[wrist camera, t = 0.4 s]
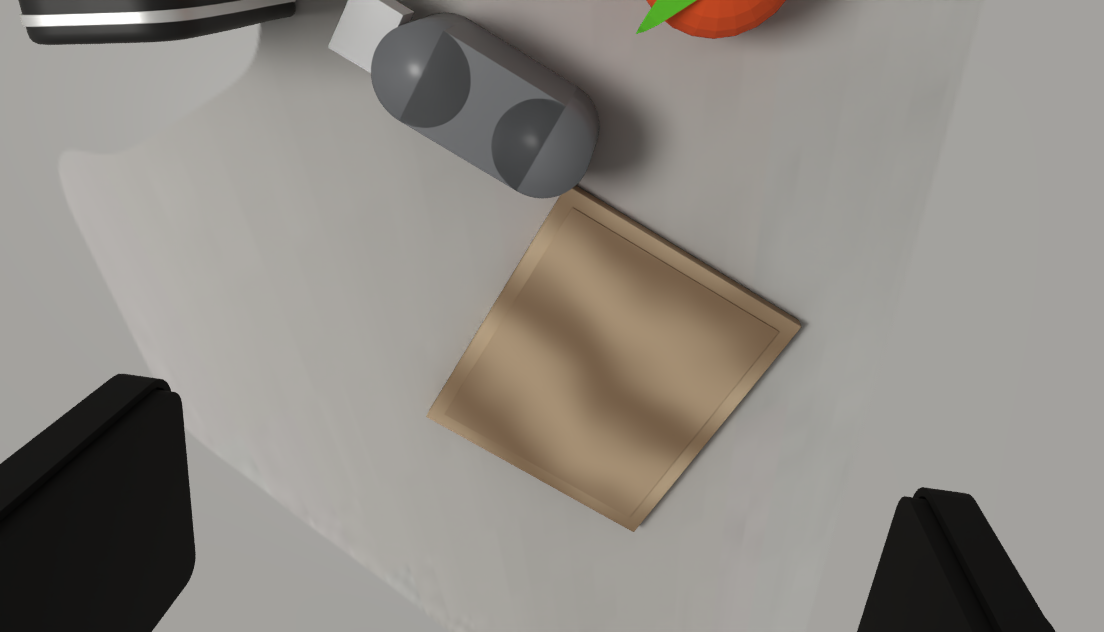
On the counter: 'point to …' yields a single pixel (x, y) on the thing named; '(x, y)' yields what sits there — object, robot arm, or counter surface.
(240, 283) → the counter surface
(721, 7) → the clementine
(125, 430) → the robot arm
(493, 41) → the usb stick
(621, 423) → the board
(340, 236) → the counter surface
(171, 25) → the battery charger
